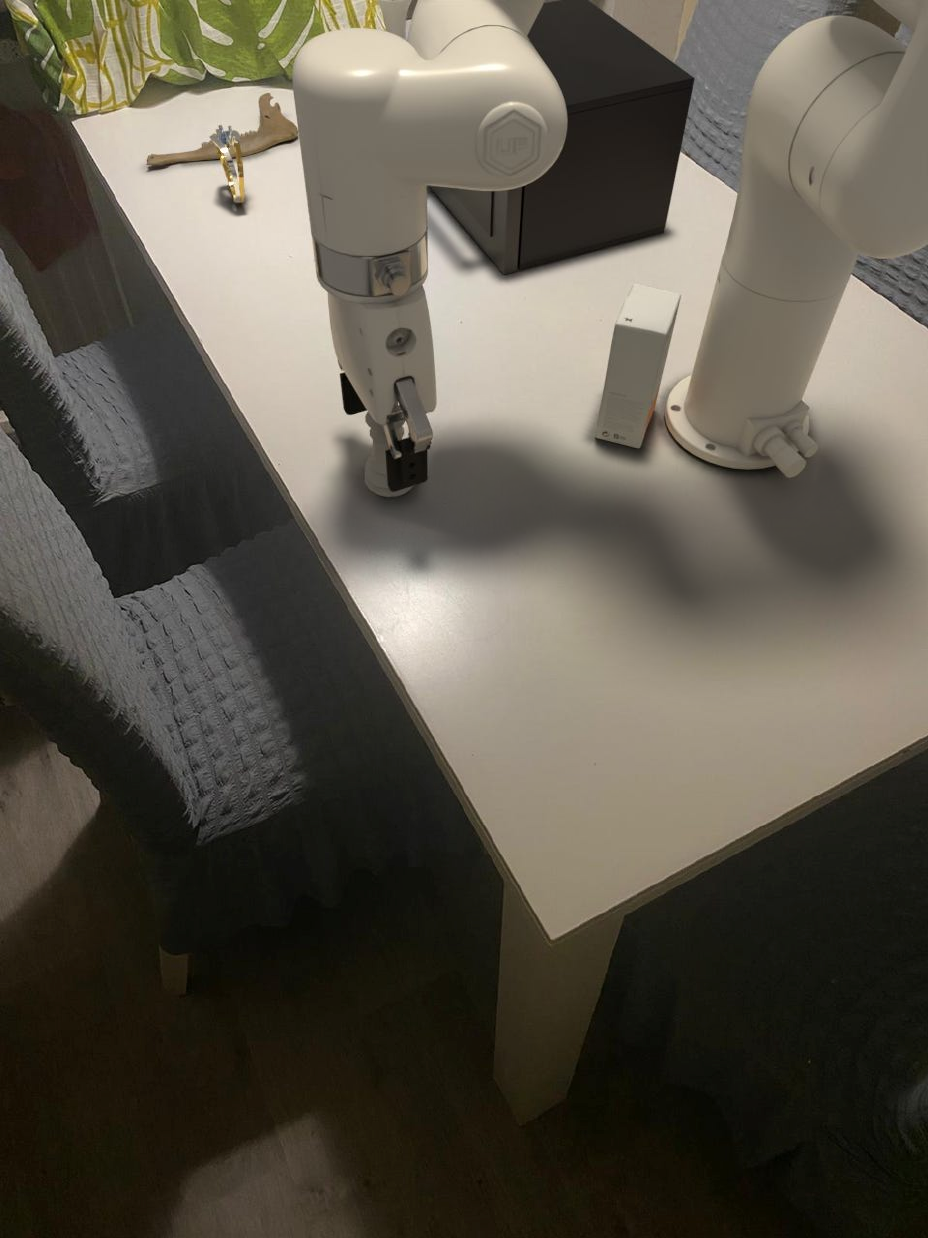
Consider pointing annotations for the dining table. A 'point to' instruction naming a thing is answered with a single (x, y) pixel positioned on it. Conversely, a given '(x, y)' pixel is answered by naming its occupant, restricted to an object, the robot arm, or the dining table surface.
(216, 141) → the ring
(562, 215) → the oven
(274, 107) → the jawbone
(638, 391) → the cosmetic box
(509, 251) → the oven door
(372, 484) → the rook chess piece
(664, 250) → the dining table surface
